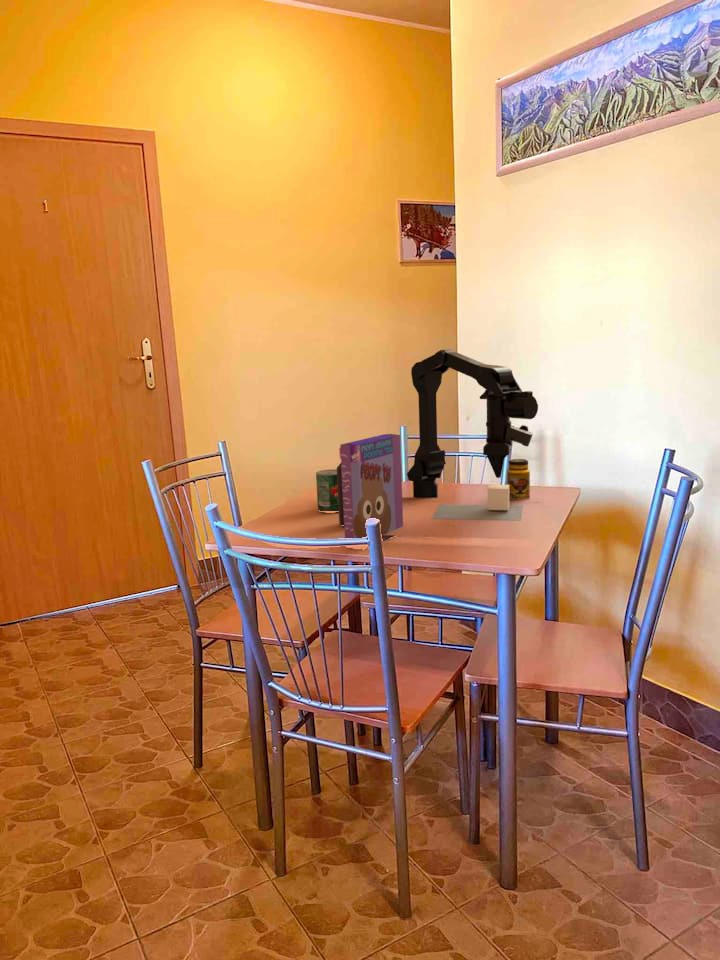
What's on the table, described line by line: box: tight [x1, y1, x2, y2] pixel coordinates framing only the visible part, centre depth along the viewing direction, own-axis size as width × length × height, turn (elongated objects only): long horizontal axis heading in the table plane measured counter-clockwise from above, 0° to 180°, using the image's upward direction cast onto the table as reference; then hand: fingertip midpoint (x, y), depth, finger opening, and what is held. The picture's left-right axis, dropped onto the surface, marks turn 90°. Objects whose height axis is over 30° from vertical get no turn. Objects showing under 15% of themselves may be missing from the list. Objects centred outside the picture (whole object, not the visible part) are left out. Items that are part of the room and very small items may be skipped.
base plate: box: [431, 503, 524, 522], centre depth 183 cm, size 22×16×2 cm
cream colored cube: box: [487, 484, 510, 510], centre depth 184 cm, size 5×5×6 cm
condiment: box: [506, 458, 537, 503], centre depth 198 cm, size 7×8×12 cm
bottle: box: [336, 447, 344, 525], centre depth 180 cm, size 7×7×20 cm
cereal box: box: [339, 433, 404, 542], centre depth 165 cm, size 17×5×24 cm, turn 145°
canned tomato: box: [315, 469, 339, 511], centre depth 198 cm, size 8×8×11 cm
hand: (498, 477), depth 183 cm, fingers closed
